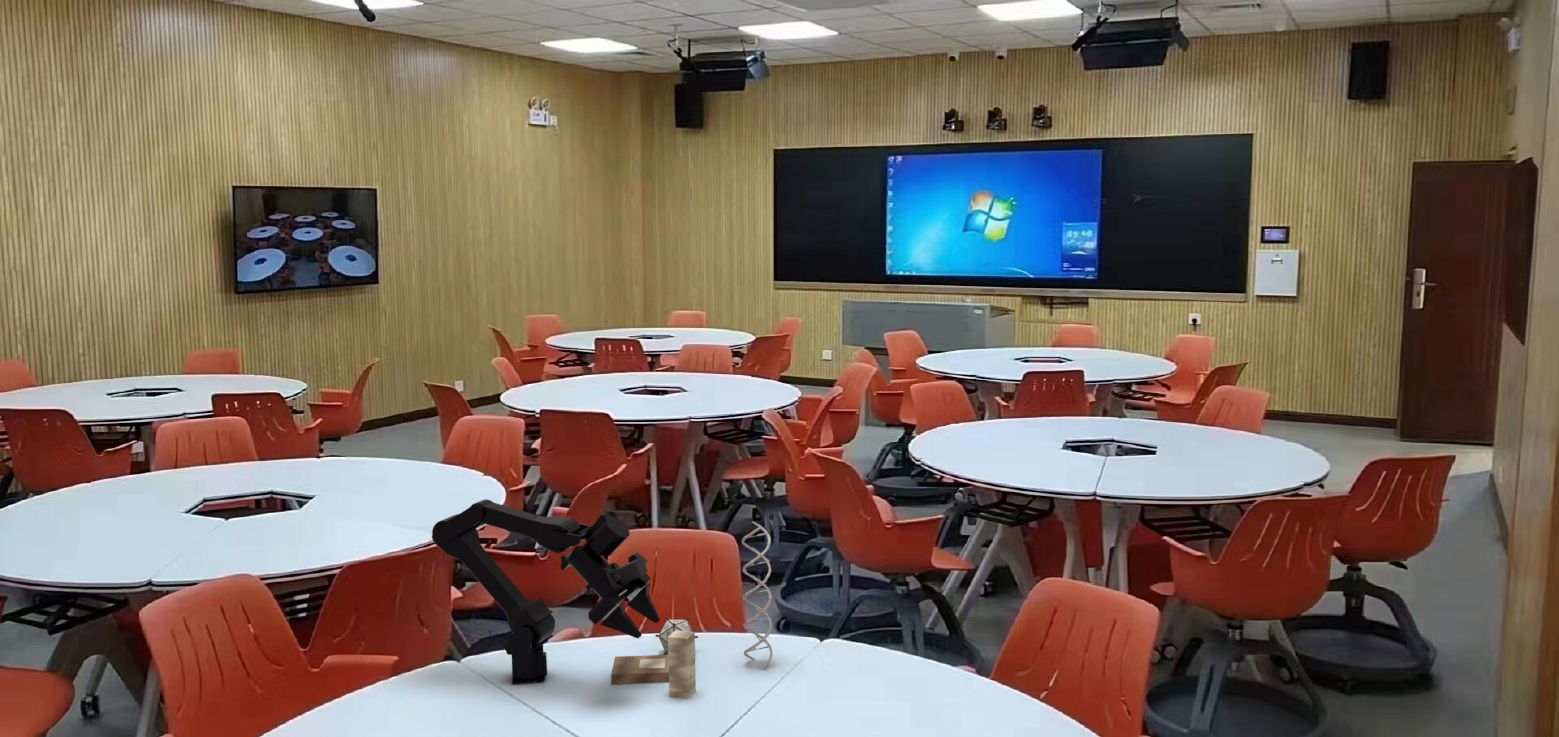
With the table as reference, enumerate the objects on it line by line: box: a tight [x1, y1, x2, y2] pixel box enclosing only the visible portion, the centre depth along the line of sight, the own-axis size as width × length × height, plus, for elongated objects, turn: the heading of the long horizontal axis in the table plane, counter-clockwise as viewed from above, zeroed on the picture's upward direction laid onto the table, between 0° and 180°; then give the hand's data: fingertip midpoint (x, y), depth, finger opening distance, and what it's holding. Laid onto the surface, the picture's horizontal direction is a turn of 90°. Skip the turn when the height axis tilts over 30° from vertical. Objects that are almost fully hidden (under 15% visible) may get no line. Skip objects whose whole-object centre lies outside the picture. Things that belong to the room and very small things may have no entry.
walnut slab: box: [610, 654, 669, 685], centre depth 239 cm, size 16×10×2 cm, turn 93°
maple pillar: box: [667, 630, 697, 699], centre depth 228 cm, size 4×4×12 cm
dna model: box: [741, 521, 774, 670], centre depth 241 cm, size 7×6×30 cm
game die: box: [654, 615, 699, 655], centre depth 250 cm, size 9×8×10 cm
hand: (649, 629), depth 229 cm, fingers open, 9 cm apart
